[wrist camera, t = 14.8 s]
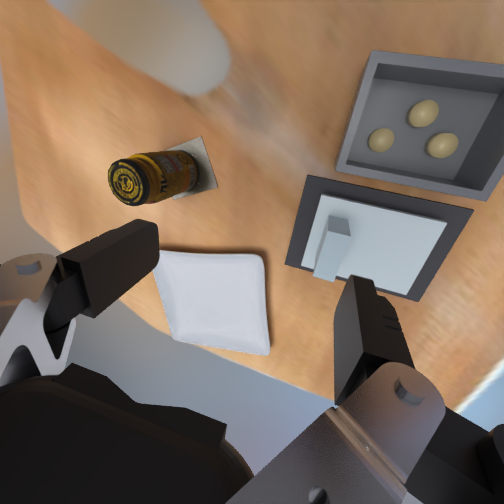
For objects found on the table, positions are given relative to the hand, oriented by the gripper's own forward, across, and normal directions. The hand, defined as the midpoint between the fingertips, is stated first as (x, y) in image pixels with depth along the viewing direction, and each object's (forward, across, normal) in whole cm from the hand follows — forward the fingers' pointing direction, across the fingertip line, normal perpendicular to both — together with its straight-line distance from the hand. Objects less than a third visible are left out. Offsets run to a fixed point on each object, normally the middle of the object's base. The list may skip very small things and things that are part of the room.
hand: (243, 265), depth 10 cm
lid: (+26, -10, +8) cm, 29 cm away
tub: (+27, -11, -6) cm, 29 cm away
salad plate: (+26, +11, +26) cm, 39 cm away
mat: (+26, -11, +8) cm, 29 cm away
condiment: (+27, +17, +4) cm, 32 cm away
